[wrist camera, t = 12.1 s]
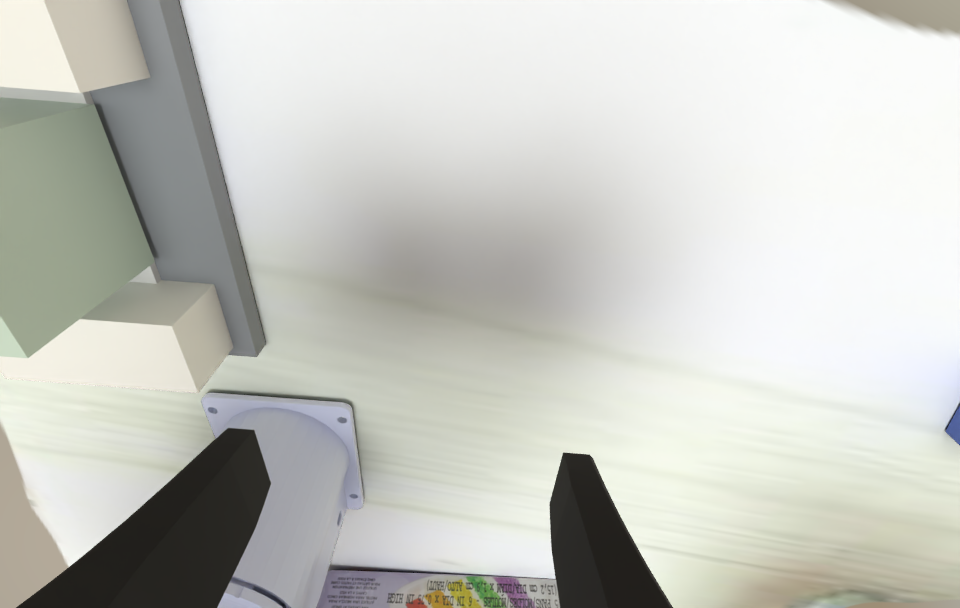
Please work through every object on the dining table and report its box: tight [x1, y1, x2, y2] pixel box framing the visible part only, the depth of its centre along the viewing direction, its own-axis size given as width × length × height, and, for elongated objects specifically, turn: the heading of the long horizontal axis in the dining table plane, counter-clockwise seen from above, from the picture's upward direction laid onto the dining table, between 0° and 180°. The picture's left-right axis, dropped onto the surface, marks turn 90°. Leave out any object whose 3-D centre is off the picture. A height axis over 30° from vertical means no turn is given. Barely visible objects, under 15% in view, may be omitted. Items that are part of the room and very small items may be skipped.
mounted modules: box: [0, 0, 233, 393], centre depth 16 cm, size 14×8×3 cm, turn 176°
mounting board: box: [0, 0, 266, 357], centre depth 18 cm, size 15×10×1 cm, turn 176°
